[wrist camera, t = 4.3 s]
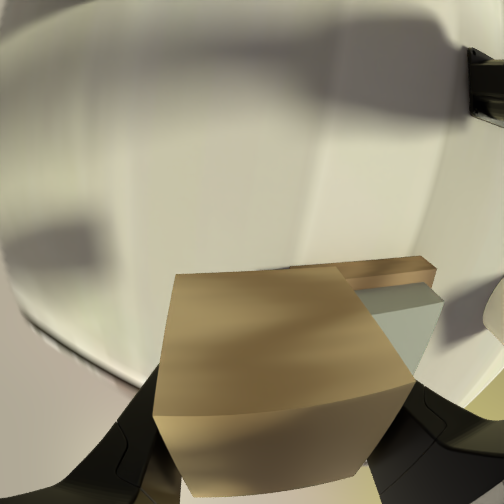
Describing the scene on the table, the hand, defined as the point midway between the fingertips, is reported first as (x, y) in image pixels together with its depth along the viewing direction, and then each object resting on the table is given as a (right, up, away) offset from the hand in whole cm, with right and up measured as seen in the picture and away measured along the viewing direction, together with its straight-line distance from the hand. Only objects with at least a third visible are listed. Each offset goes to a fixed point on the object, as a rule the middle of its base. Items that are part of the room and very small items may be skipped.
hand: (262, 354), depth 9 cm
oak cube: (0, 0, +1) cm, 1 cm away
